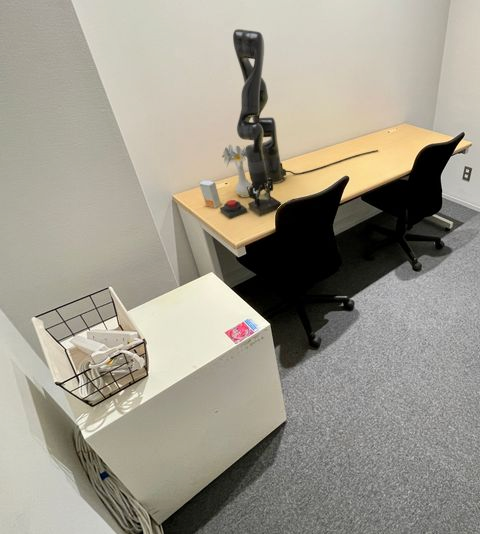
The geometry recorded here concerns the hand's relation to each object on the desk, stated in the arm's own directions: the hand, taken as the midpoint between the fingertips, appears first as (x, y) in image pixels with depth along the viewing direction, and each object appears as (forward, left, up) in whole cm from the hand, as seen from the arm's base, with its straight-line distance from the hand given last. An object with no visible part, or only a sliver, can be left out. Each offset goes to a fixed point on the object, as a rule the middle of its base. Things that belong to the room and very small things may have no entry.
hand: (263, 202), depth 158 cm
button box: (+13, -7, -3) cm, 15 cm away
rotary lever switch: (0, 0, -3) cm, 3 cm away
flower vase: (0, -20, -3) cm, 20 cm away
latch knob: (0, 0, 0) cm, 0 cm away
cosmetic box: (+17, -20, -3) cm, 26 cm away
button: (+13, -7, 0) cm, 14 cm away
